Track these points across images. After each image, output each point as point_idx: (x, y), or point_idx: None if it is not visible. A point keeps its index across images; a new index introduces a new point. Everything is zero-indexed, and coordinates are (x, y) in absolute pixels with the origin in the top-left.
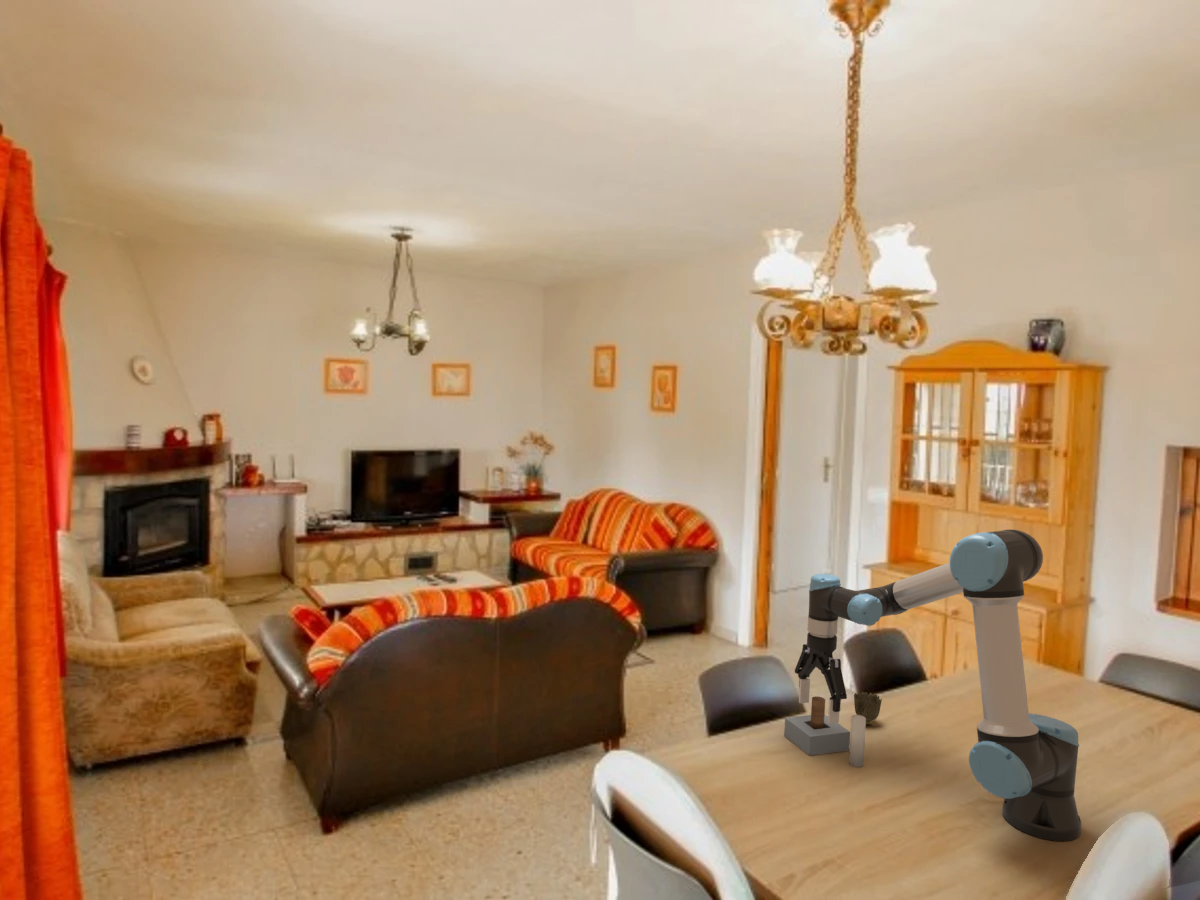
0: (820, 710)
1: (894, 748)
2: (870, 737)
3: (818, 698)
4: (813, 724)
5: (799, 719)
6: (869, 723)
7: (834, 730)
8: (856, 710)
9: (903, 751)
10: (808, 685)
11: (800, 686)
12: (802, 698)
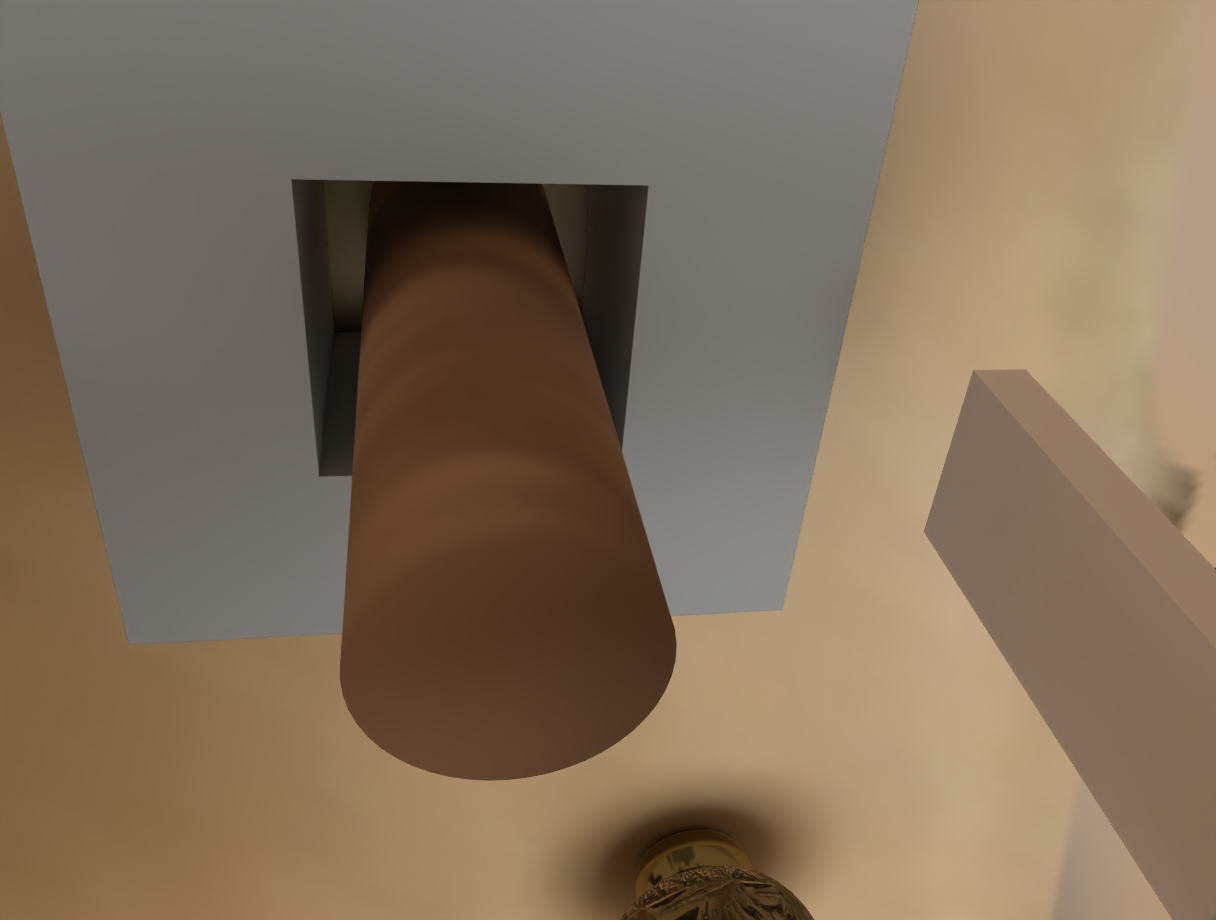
0: (353, 502)
1: (169, 851)
2: (436, 783)
3: (540, 679)
4: (433, 258)
5: (757, 168)
6: (637, 883)
7: (202, 474)
8: (747, 914)
9: (97, 883)
10: (1110, 779)
11: (1206, 605)
12: (1005, 466)
